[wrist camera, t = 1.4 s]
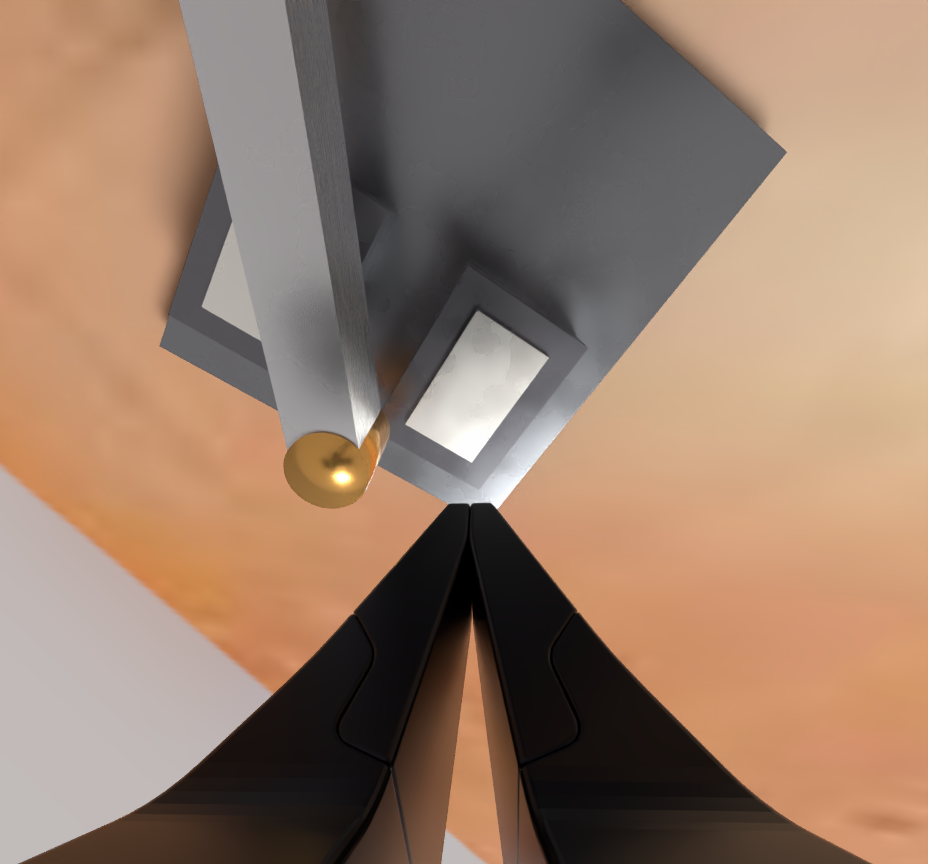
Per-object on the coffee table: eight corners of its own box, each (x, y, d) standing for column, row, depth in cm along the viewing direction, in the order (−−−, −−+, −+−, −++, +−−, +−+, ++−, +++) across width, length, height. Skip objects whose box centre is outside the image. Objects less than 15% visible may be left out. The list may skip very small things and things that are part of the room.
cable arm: (169, -339, 8) (2, -652, 5) (290, -353, 8) (185, -682, 5) (327, 458, 15) (293, 509, 13) (393, 456, 15) (373, 507, 12)
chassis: (363, -205, 12) (325, -351, 9) (768, 157, 15) (838, 137, 12) (175, 340, 18) (118, 360, 15) (484, 512, 22) (485, 554, 19)
